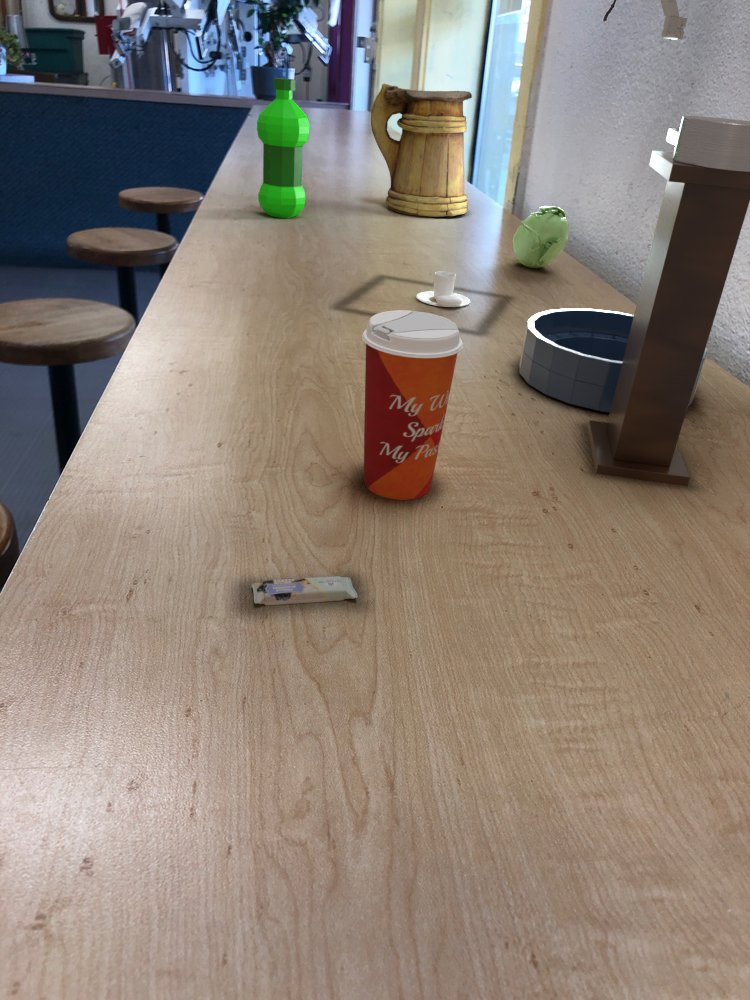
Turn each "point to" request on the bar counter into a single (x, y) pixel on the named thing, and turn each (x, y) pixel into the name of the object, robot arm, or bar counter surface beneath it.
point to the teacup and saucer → (443, 292)
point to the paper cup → (406, 399)
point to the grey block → (712, 143)
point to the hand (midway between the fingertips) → (719, 41)
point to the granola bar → (303, 590)
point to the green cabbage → (541, 237)
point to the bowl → (578, 355)
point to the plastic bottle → (282, 152)
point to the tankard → (423, 150)
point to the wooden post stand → (671, 321)
